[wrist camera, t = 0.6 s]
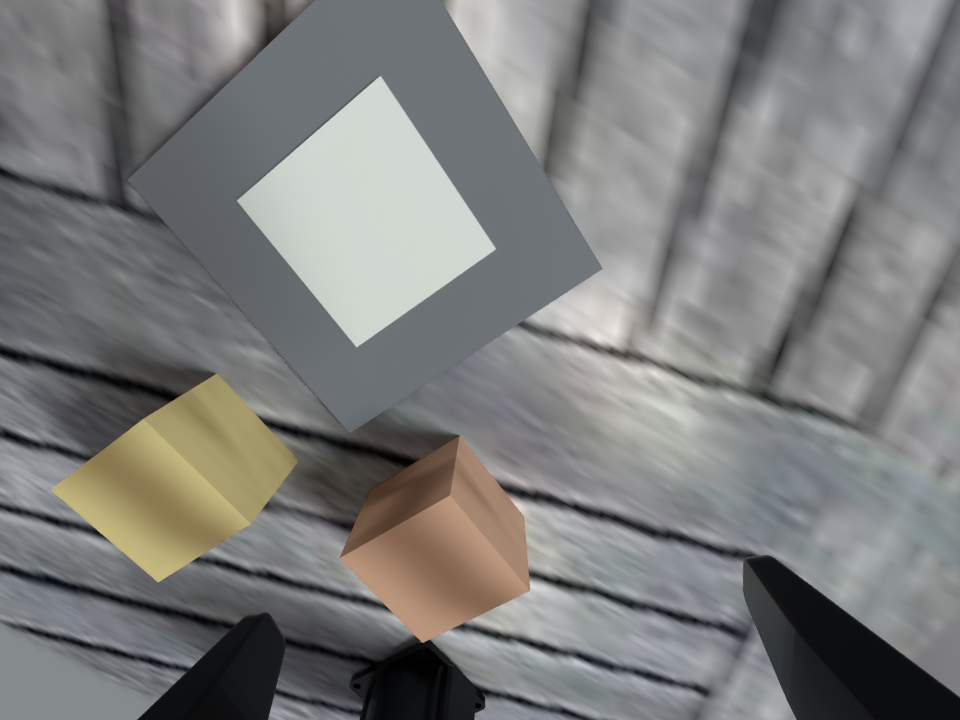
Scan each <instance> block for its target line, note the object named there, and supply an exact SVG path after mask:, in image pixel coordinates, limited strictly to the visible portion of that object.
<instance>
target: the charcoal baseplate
mask: <svg viewBox="0 0 960 720" xmlns="http://www.w3.org/2000/svg"><path fill="white" fill-rule="evenodd" d="M128 181H129V183H130V184H131V185H132V186H133V187H134V188H135V189H136V191H137V192H138V193H139V194H140V195H141V196H142V197H143V199H144V200H145V201H146V202H147V203H148V204H149V205H150V207H151V208H152V209H153V210H154V211H155V212H156V213H157V215H158V216H159V217H160V218H161V219H162V220H163V221H164V223H165V224H166V225H167V226H168V227H169V228H170V229H171V230H172V232H173V233H174V234H175V235H176V236H177V237H178V238H179V240H180V241H181V242H182V243H183V244H184V245H185V246H186V248H187V249H188V250H189V251H190V252H191V253H192V254H193V256H194V257H195V258H196V259H197V260H198V261H199V262H200V264H201V265H202V266H203V267H204V268H205V269H206V270H207V272H208V273H209V274H210V275H211V276H212V277H213V278H214V279H215V281H216V282H217V283H218V284H219V285H220V286H221V287H222V289H223V290H224V291H225V292H226V293H227V294H228V295H229V297H230V298H231V299H232V300H233V301H234V302H235V303H236V305H237V306H238V307H239V308H240V309H241V310H242V311H243V313H244V314H245V315H246V316H247V317H248V318H249V319H250V321H251V322H252V323H253V324H254V325H255V326H256V327H257V328H258V330H259V331H260V332H261V333H262V334H263V335H264V336H265V338H266V339H267V340H268V341H269V342H270V343H271V344H272V346H273V347H274V348H275V349H276V350H277V351H278V352H279V354H280V355H281V356H282V357H283V358H284V359H285V360H286V362H287V363H288V364H289V365H290V366H291V367H292V368H293V370H294V371H295V372H296V373H297V374H298V375H299V376H300V377H301V379H302V380H303V381H304V382H305V383H306V384H307V385H308V387H309V388H310V389H311V390H312V391H313V392H314V393H315V395H316V396H317V397H318V398H319V399H320V400H321V401H322V403H323V404H324V405H325V406H326V407H327V408H328V409H329V411H330V412H331V413H332V414H333V415H334V416H335V417H336V419H337V420H338V421H339V422H340V423H341V424H342V425H343V426H344V428H345V429H346V430H347V431H348V432H349V433H351V432H353V431H354V430H356V429H357V428H359V427H360V426H362V425H364V424H365V423H367V422H368V421H370V420H371V419H373V418H374V417H376V416H377V415H379V414H380V413H382V412H384V411H385V410H387V409H388V408H390V407H391V406H393V405H394V404H396V403H397V402H399V401H400V400H402V399H403V398H405V397H407V396H408V395H410V394H411V393H413V392H414V391H416V390H417V389H419V388H420V387H422V386H423V385H425V384H426V383H428V382H430V381H431V380H433V379H434V378H436V377H437V376H439V375H440V374H442V373H443V372H445V371H446V370H448V369H450V368H451V367H453V366H454V365H456V364H457V363H459V362H460V361H462V360H463V359H465V358H466V357H468V356H469V355H471V354H473V353H474V352H476V351H477V350H479V349H480V348H482V347H483V346H485V345H486V344H488V343H489V342H491V341H493V340H494V339H496V338H497V337H499V336H500V335H502V334H503V333H505V332H506V331H508V330H509V329H511V328H512V327H514V326H516V325H517V324H519V323H520V322H522V321H523V320H525V319H526V318H528V317H529V316H531V315H532V314H534V313H535V312H537V311H539V310H540V309H542V308H543V307H545V306H546V305H548V304H549V303H551V302H552V301H554V300H555V299H557V298H559V297H560V296H562V295H563V294H565V293H566V292H568V291H569V290H571V289H572V288H574V287H575V286H577V285H578V284H580V283H582V282H583V281H585V280H586V279H588V278H589V277H591V276H592V275H594V274H595V273H597V272H598V271H600V270H601V269H602V267H601V265H600V264H599V262H598V260H597V259H596V257H595V255H594V254H593V252H592V250H591V249H590V247H589V245H588V244H587V242H586V240H585V239H584V237H583V235H582V234H581V232H580V230H579V229H578V227H577V226H576V224H575V222H574V221H573V219H572V217H571V216H570V214H569V212H568V211H567V209H566V207H565V206H564V204H563V202H562V201H561V199H560V197H559V196H558V194H557V192H556V191H555V189H554V187H553V186H552V184H551V182H550V181H549V179H548V177H547V176H546V174H545V172H544V171H543V169H542V167H541V166H540V164H539V162H538V161H537V159H536V158H535V156H534V154H533V153H532V151H531V149H530V148H529V146H528V144H527V143H526V141H525V139H524V138H523V136H522V134H521V133H520V131H519V129H518V128H517V126H516V124H515V123H514V121H513V119H512V118H511V116H510V114H509V113H508V111H507V109H506V108H505V106H504V104H503V103H502V101H501V99H500V98H499V96H498V94H497V93H496V91H495V89H494V88H493V86H492V85H491V83H490V81H489V80H488V78H487V76H486V75H485V73H484V71H483V70H482V68H481V66H480V65H479V63H478V61H477V60H476V58H475V56H474V55H473V53H472V51H471V50H470V48H469V46H468V45H467V43H466V41H465V40H464V38H463V36H462V35H461V33H460V31H459V30H458V28H457V26H456V25H455V23H454V21H453V20H452V18H451V17H450V15H449V13H448V12H447V10H446V8H445V7H444V5H443V3H442V2H441V0H314V1H313V2H312V3H311V4H310V5H309V6H308V7H307V8H306V9H305V10H304V11H303V12H302V13H301V14H300V15H299V16H298V17H297V18H295V19H294V20H293V21H292V22H291V23H290V24H289V25H288V26H287V27H286V28H285V29H284V30H283V31H282V32H281V33H280V34H279V35H278V36H277V37H276V38H275V39H274V40H273V41H272V42H270V43H269V44H268V45H267V46H266V47H265V48H264V49H263V50H262V51H261V52H260V53H259V54H258V55H257V56H256V57H255V58H254V59H253V60H252V61H251V62H250V63H249V64H248V65H247V66H245V67H244V68H243V69H242V70H241V71H240V72H239V73H238V74H237V75H236V76H235V77H234V78H233V79H232V80H231V81H230V82H229V83H228V84H227V85H226V86H225V87H224V88H223V89H222V90H220V91H219V92H218V93H217V94H216V95H215V96H214V97H213V98H212V99H211V100H210V101H209V102H208V103H207V104H206V105H205V106H204V107H203V108H202V109H201V110H200V111H199V112H198V113H197V114H195V115H194V116H193V117H192V118H191V119H190V120H189V121H188V122H187V123H186V124H185V125H184V126H183V127H182V128H181V129H180V130H179V131H178V132H177V133H176V134H175V135H174V136H173V137H172V138H170V139H169V140H168V141H167V142H166V143H165V144H164V145H163V146H162V147H161V148H160V149H159V150H158V151H157V152H156V153H155V154H154V155H153V156H152V157H151V158H150V159H149V160H148V161H147V162H145V163H144V164H143V165H142V166H141V167H140V168H139V169H138V170H137V171H136V172H135V173H134V174H133V175H132V176H131V177H130V178H129V179H128Z"/></svg>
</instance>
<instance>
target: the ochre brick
mask: <svg viewBox="0 0 960 720" xmlns="http://www.w3.org/2000/svg"><path fill="white" fill-rule="evenodd" d="M298 461H299V460H298V459H297V458H296V457H295V456H294V455H293V454H292V453H291V452H290V451H289V450H288V449H287V448H286V447H285V446H284V444H283V443H282V442H281V441H280V440H279V439H278V438H277V437H276V436H275V435H274V434H273V433H272V432H271V431H270V430H269V428H268V427H267V426H266V425H265V424H264V423H263V422H262V421H261V420H260V419H259V418H258V417H257V416H256V415H255V414H254V412H253V411H252V410H251V409H250V408H249V407H248V406H247V405H246V404H245V403H244V402H243V401H242V400H241V399H240V398H239V396H238V395H237V394H236V393H235V392H234V391H233V390H232V389H231V388H230V387H229V386H228V385H227V384H226V383H225V382H224V380H223V379H222V378H221V377H220V376H219V375H218V374H215V375H214V376H212V377H210V378H209V379H207V380H206V381H204V382H202V383H201V384H199V385H197V386H196V387H194V388H193V389H191V390H189V391H188V392H186V393H185V394H183V395H181V396H180V397H178V398H176V399H175V400H173V401H172V402H170V403H168V404H167V405H165V406H163V407H162V408H160V409H159V410H157V411H155V412H154V413H152V414H150V415H149V416H147V417H146V418H144V419H143V420H141V421H140V422H139V423H137V424H136V425H135V426H133V427H132V428H131V429H129V430H128V431H127V432H126V433H124V434H123V435H122V436H120V437H119V438H118V439H116V440H115V441H114V442H112V443H111V444H110V445H109V446H107V447H106V448H105V449H103V450H102V451H101V452H99V453H98V454H97V455H95V456H94V457H93V458H92V459H90V460H89V461H88V462H86V463H85V464H84V465H82V466H81V467H80V468H78V469H77V470H76V471H75V472H73V473H72V474H71V475H69V476H68V477H67V478H65V479H64V480H63V481H61V482H60V483H59V484H58V485H56V486H55V487H54V488H52V489H51V491H53V492H54V493H55V494H56V495H57V496H58V497H60V498H61V499H62V500H63V501H64V502H65V503H67V504H68V505H69V506H70V507H71V508H72V509H73V510H75V511H76V512H77V513H78V514H79V515H80V516H82V517H83V518H84V519H85V520H86V521H87V522H89V523H90V524H91V525H92V526H93V527H94V528H96V529H97V530H98V531H99V532H100V533H101V534H103V535H104V536H105V537H106V538H107V539H108V540H109V541H111V542H112V543H113V544H114V545H115V546H116V547H118V548H119V549H120V550H121V551H122V552H123V553H125V554H126V555H127V556H128V557H129V558H130V559H132V560H133V561H134V562H135V563H136V564H137V565H138V566H140V567H141V568H142V569H143V570H144V571H145V572H147V573H148V574H149V575H150V576H151V577H152V578H154V579H155V580H156V581H157V582H160V581H161V580H163V579H164V578H166V577H168V576H169V575H171V574H172V573H174V572H175V571H177V570H179V569H180V568H182V567H183V566H185V565H187V564H188V563H190V562H191V561H193V560H194V559H196V558H198V557H199V556H201V555H202V554H204V553H205V552H207V551H209V550H210V549H212V548H213V547H215V546H217V545H218V544H220V543H221V542H223V541H224V540H226V539H228V538H229V537H231V536H232V535H234V534H235V533H237V532H239V531H240V530H242V529H243V528H245V527H247V526H248V525H250V524H251V523H252V522H253V520H254V519H255V518H256V516H257V515H258V514H259V512H260V511H261V510H262V509H263V507H264V506H265V505H266V503H267V502H268V501H269V499H270V498H271V497H272V495H273V494H274V493H275V492H276V490H277V489H278V488H279V486H280V485H281V484H282V482H283V481H284V480H285V478H286V477H287V476H288V475H289V473H290V472H291V471H292V469H293V468H294V467H295V465H296V464H297V463H298Z"/></svg>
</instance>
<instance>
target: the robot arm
mask: <svg viewBox="0 0 960 720" xmlns="http://www.w3.org/2000/svg"><path fill="white" fill-rule="evenodd" d="M743 593H744V597H745V601H746V604H747V606H748V609H749V611H750V613H751V616H752V618H753V621H754V623H755V625H756V628H757V630H758V632H759V635H760V637H761V640H762V642H763V644H764V647H765V649H766V652H767V654H768V656H769V659H770V661H771V663H772V666H773V668H774V671H775V673H776V675H777V678H778V680H779V682H780V685H781V687H782V689H783V692H784V694H785V696H786V699H787V701H788V703H789V705H790V707H791V709H792V711H793V713H794V715H795V717H796V719H797V720H960V697H959V696H958V695H956V694H955V693H954V692H952V691H951V690H950V689H948V688H947V687H946V686H944V685H943V684H942V683H940V682H939V681H938V680H936V679H935V678H934V677H932V676H931V675H930V674H928V673H927V672H926V671H924V670H923V669H921V668H920V667H919V666H918V665H916V664H915V663H914V662H912V661H911V660H910V659H908V658H907V657H906V656H904V655H903V654H902V653H900V652H899V651H898V650H896V649H895V648H894V647H892V646H891V645H890V644H888V643H887V642H886V641H884V640H883V639H882V638H880V637H879V636H878V635H876V634H875V633H874V632H872V631H871V630H870V629H868V628H867V627H866V626H864V625H863V624H862V623H860V622H859V621H858V620H856V619H855V618H854V617H852V616H851V615H850V614H848V613H847V612H846V611H844V610H843V609H842V608H840V607H839V606H838V605H836V604H835V603H834V602H832V601H831V600H830V599H828V598H827V597H826V596H824V595H823V594H822V593H820V592H819V591H818V590H816V589H815V588H814V587H812V586H811V585H810V584H808V583H807V582H806V581H804V580H803V579H802V578H800V577H799V576H798V575H796V574H795V573H794V572H792V571H791V570H790V569H788V568H787V567H786V566H784V565H783V564H782V563H781V562H779V561H778V560H777V559H775V558H773V557H771V556H768V555H762V556H754V557H747V558H745V560H744V563H743ZM284 653H285V638H284V636H283V634H282V633H281V631H280V629H279V628H278V626H277V624H276V623H275V621H274V620H273V618H272V616H271V615H270V614H268V613H266V612H263V613H255V614H249V615H247V616H245V617H244V618H243V619H242V620H241V621H240V622H238V623H237V624H236V625H235V626H234V627H233V628H232V629H231V630H230V631H229V632H228V633H227V634H226V635H225V636H224V637H223V638H222V639H221V640H220V641H219V642H218V643H217V644H216V645H215V646H213V647H212V648H211V649H210V650H209V651H208V652H207V653H206V654H205V655H204V656H203V657H202V658H201V659H200V660H199V661H198V662H197V663H196V664H195V665H194V666H193V667H192V668H191V669H189V670H188V671H187V672H186V673H185V674H184V675H183V676H182V677H181V678H180V679H179V680H178V681H177V682H176V683H175V684H174V685H173V686H172V687H171V688H170V689H169V690H168V691H167V692H166V693H164V694H163V695H162V696H161V697H160V698H159V699H158V700H157V701H156V702H155V703H154V704H153V705H152V706H151V707H150V708H149V709H148V710H147V711H146V712H145V713H144V714H143V715H142V716H141V717H140V718H139V719H137V720H268V718H269V714H270V710H271V706H272V702H273V698H274V694H275V689H276V685H277V681H278V677H279V673H280V669H281V665H282V661H283V657H284ZM349 686H350V688H351V689H352V690H353V691H354V692H355V693H356V694H357V695H358V696H359V697H360V698H362V699H363V700H364V705H363V708H362V712H361V716H360V720H474V717H475V713H476V712H479V711H481V710H483V709H484V708H485V697H484V696H483V695H482V694H481V693H480V692H479V691H478V690H477V689H476V688H475V686H474V685H473V684H472V683H471V682H470V681H469V680H468V679H467V678H466V677H465V676H464V675H463V674H462V673H461V672H460V671H459V670H458V669H457V668H456V667H455V666H454V665H453V664H452V663H451V662H450V661H449V660H448V659H447V658H446V657H445V656H444V655H443V654H442V653H441V652H440V650H439V649H438V648H437V647H436V646H435V645H434V644H433V643H431V642H429V641H425V642H423V643H422V642H421V643H419V644H417V645H415V646H413V647H411V648H408V649H406V650H404V651H402V652H400V653H398V654H396V655H394V656H392V657H390V658H388V659H386V660H384V661H382V662H380V663H378V664H376V665H374V666H372V667H370V668H368V669H366V670H364V671H362V672H360V673H357V674H355V675H354V676H352V678H351V681H350V685H349Z"/></svg>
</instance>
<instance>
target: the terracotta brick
mask: <svg viewBox="0 0 960 720" xmlns="http://www.w3.org/2000/svg"><path fill="white" fill-rule="evenodd" d="M340 559H341V560H342V561H343V562H344V563H345V564H346V566H347V567H348V568H349V569H350V570H351V571H352V572H353V573H354V574H355V575H356V576H357V577H358V578H359V579H360V580H361V581H362V582H363V583H364V584H365V585H366V586H367V587H368V588H369V589H370V590H371V591H372V592H373V593H374V594H375V595H376V596H377V597H378V598H379V599H380V600H381V601H382V602H383V603H384V604H385V605H386V606H387V607H388V608H389V609H390V610H391V611H392V612H393V613H394V614H395V615H396V616H397V617H398V618H399V619H400V621H401V622H402V623H403V624H404V625H405V626H406V627H407V628H408V629H409V630H410V631H411V632H412V633H413V634H414V635H415V636H416V637H417V638H418V639H419V640H420V641H421V642H422V643H423V642H425V641H427V640H430V639H432V638H434V637H436V636H438V635H440V634H442V633H444V632H446V631H448V630H450V629H452V628H454V627H456V626H458V625H460V624H462V623H464V622H467V621H469V620H471V619H473V618H475V617H477V616H479V615H481V614H483V613H485V612H487V611H489V610H491V609H493V608H495V607H497V606H499V605H501V604H504V603H506V602H508V601H510V600H512V599H514V598H516V597H518V596H520V595H522V594H524V593H526V592H528V591H530V584H529V572H528V560H527V547H526V535H525V522H524V516H523V515H522V513H521V512H520V511H519V510H518V508H517V507H516V506H515V505H514V503H513V502H512V501H511V499H510V498H509V497H508V496H507V494H506V493H505V492H504V491H503V489H502V488H501V487H500V486H499V484H498V483H497V482H496V481H495V479H494V478H493V477H492V475H491V474H490V473H489V472H488V470H487V469H486V468H485V467H484V465H483V464H482V463H481V462H480V460H479V459H478V458H477V457H476V455H475V454H474V453H473V451H472V450H471V449H470V448H469V446H468V445H467V444H466V443H465V441H464V440H463V439H462V438H461V436H458V437H456V438H455V439H453V440H451V441H450V442H448V443H446V444H445V445H443V446H441V447H440V448H438V449H437V450H435V451H433V452H432V453H430V454H428V455H427V456H425V457H423V458H422V459H420V460H418V461H417V462H415V463H413V464H412V465H410V466H408V467H407V468H405V469H403V470H402V471H400V472H399V473H397V474H395V475H394V476H392V477H390V478H389V479H387V480H385V481H384V482H382V483H380V484H379V485H377V486H375V487H374V488H372V489H370V490H369V493H368V495H367V497H366V500H365V502H364V504H363V506H362V509H361V511H360V513H359V515H358V518H357V520H356V522H355V524H354V527H353V529H352V531H351V533H350V536H349V538H348V540H347V543H346V545H345V547H344V549H343V552H342V554H341V556H340Z"/></svg>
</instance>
